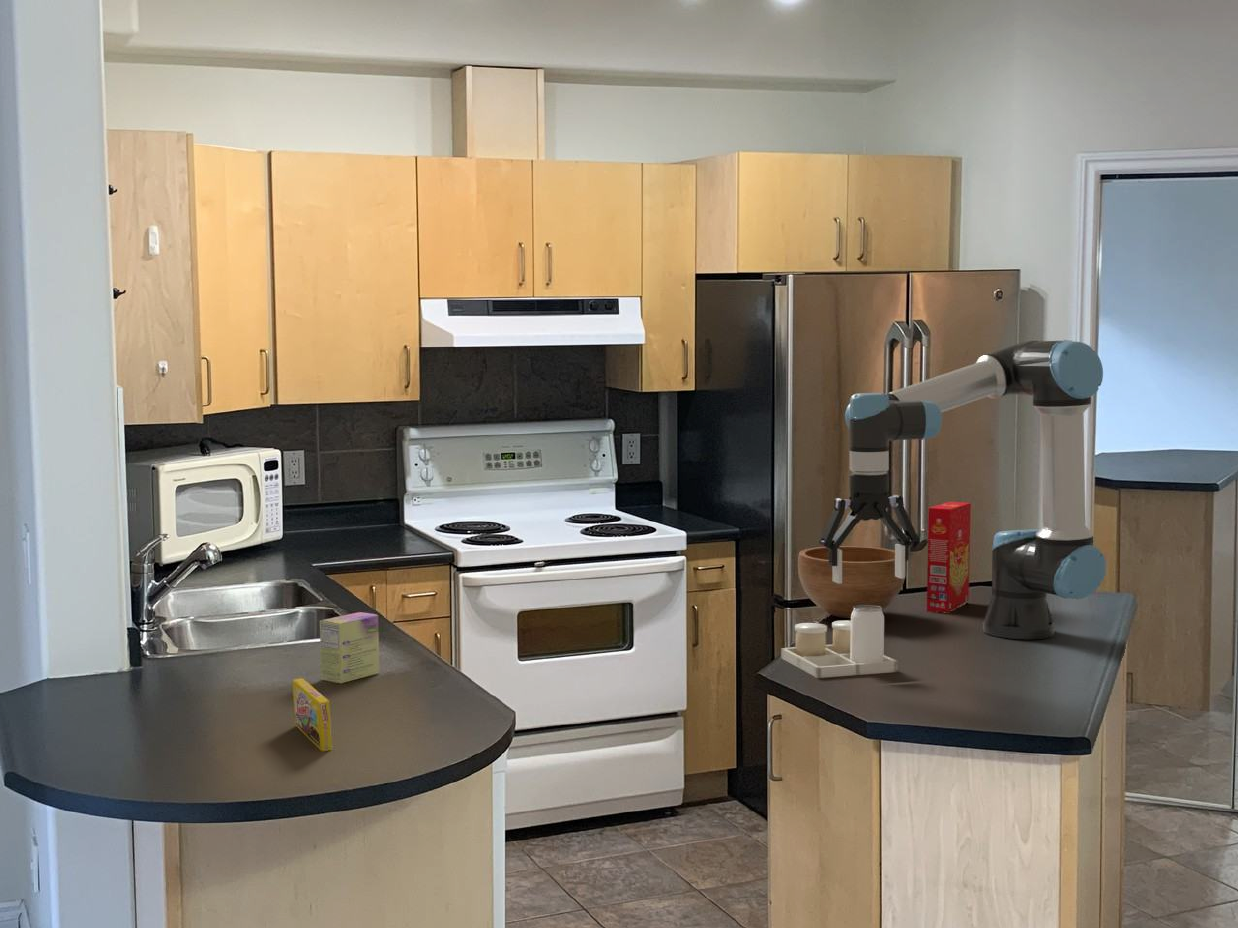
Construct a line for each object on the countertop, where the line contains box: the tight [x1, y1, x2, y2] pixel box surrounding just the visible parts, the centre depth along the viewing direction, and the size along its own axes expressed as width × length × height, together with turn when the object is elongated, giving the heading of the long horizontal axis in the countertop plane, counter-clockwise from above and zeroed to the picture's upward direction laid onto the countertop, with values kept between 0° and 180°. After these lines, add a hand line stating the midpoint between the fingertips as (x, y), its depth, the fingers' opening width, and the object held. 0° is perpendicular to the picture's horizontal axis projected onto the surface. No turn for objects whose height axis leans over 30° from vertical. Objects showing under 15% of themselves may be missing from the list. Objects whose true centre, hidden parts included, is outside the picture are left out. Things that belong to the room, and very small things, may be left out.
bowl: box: [797, 545, 907, 620], centre depth 318 cm, size 25×25×15 cm
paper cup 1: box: [794, 622, 828, 657], centre depth 273 cm, size 6×6×7 cm
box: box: [319, 611, 380, 684], centre depth 263 cm, size 10×6×12 cm, turn 145°
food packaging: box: [926, 501, 972, 614], centre depth 329 cm, size 15×5×25 cm, turn 147°
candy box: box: [292, 677, 333, 752], centre depth 223 cm, size 16×2×8 cm, turn 28°
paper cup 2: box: [831, 619, 851, 654], centre depth 276 cm, size 6×6×7 cm
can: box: [850, 605, 885, 663], centre depth 268 cm, size 6×6×12 cm
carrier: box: [780, 643, 899, 679], centre depth 271 cm, size 17×17×2 cm
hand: (868, 580), depth 267 cm, fingers open, 13 cm apart
